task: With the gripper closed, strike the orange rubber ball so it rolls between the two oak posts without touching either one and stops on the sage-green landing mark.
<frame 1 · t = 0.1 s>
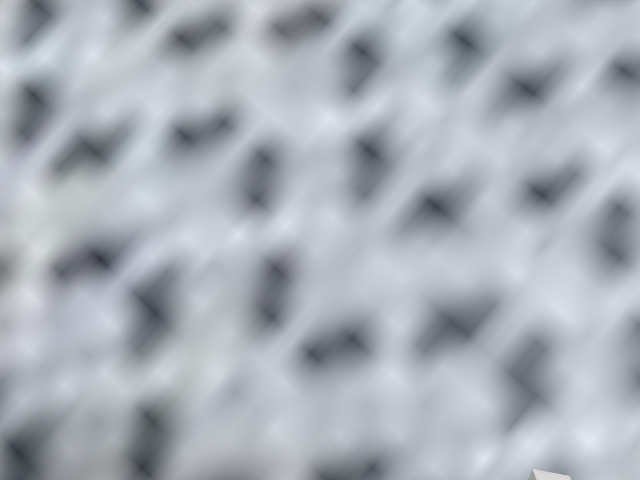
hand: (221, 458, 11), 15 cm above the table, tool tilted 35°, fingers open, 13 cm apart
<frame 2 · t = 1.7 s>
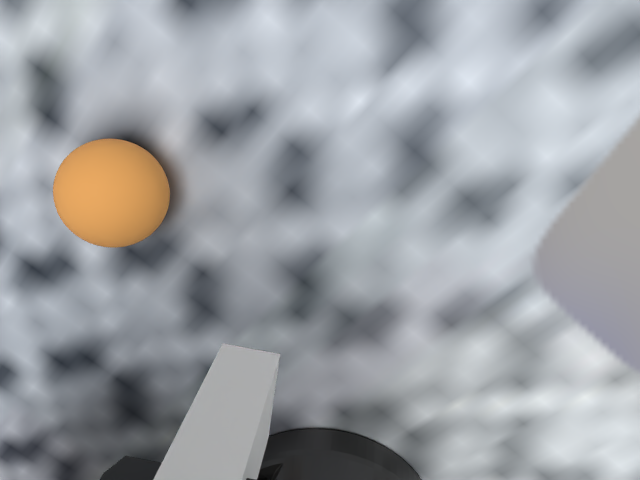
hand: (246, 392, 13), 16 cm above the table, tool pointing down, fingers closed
ball: (113, 193, 26), on the table
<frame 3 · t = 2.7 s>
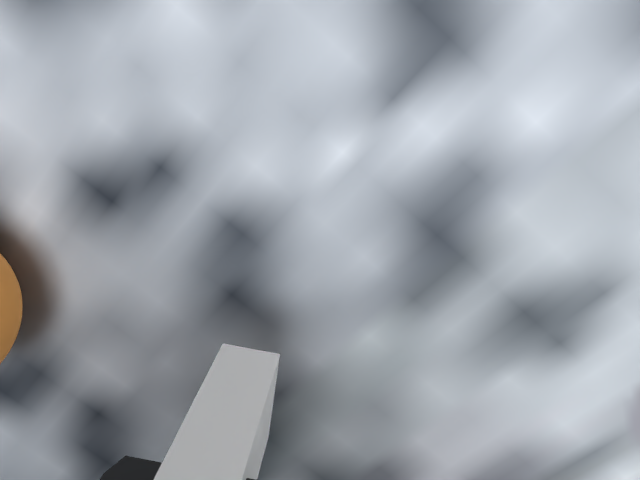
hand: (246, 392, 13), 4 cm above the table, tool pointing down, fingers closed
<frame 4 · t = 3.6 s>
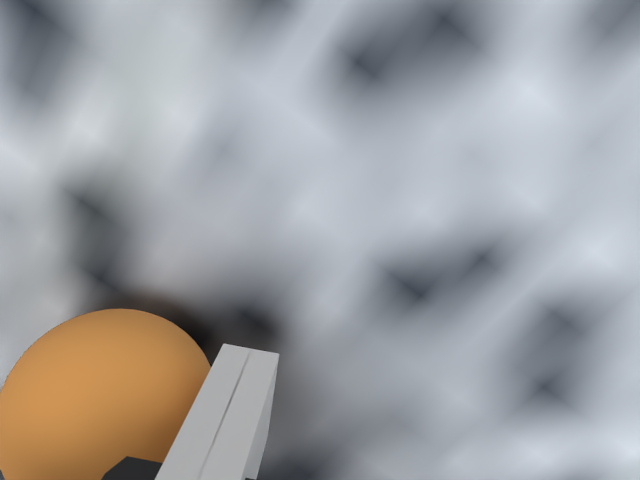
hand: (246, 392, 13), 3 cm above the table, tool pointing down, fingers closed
ball: (114, 411, 14), on the table
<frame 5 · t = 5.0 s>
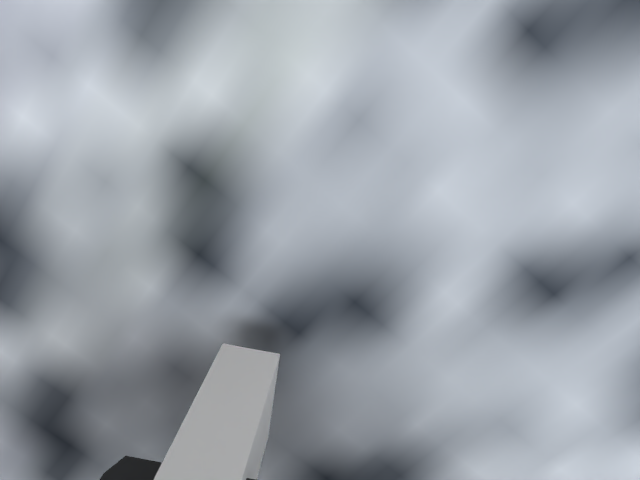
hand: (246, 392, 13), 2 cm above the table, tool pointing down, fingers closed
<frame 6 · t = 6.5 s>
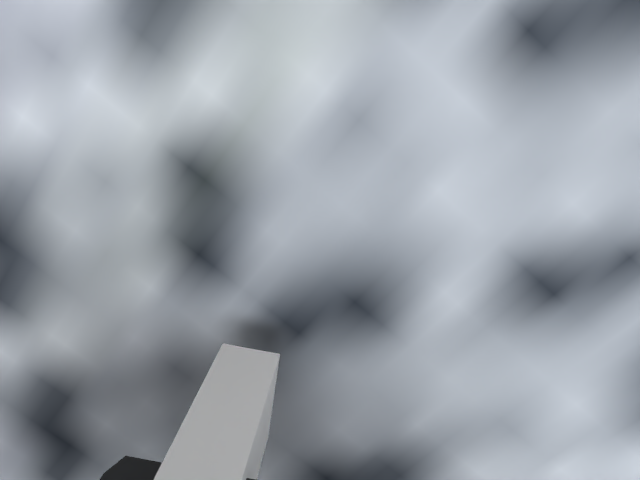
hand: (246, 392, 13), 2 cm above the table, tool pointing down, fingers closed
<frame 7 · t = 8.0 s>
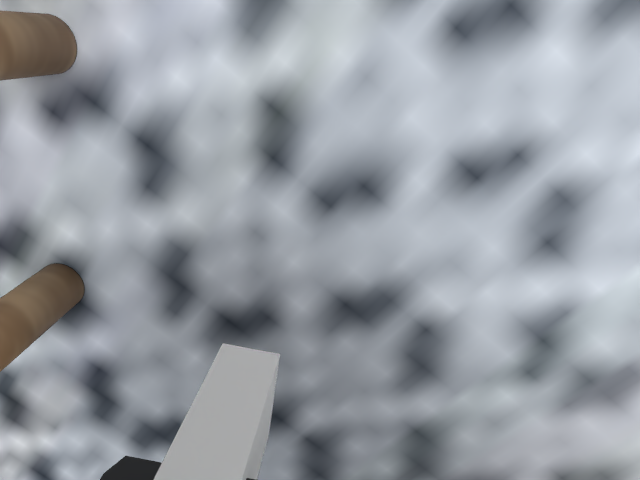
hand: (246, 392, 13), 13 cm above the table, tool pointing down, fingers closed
post 2: (61, 284, 29), on the table
post 1: (49, 44, 24), on the table
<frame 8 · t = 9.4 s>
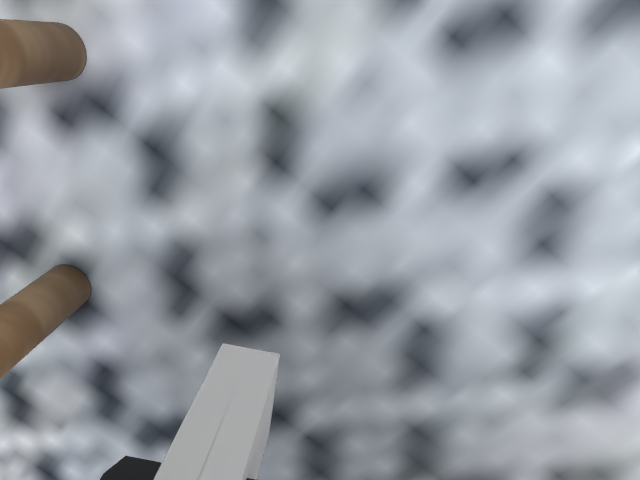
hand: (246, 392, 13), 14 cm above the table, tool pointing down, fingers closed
post 2: (68, 285, 29), on the table
post 1: (60, 52, 25), on the table
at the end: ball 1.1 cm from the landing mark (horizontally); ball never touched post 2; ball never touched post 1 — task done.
